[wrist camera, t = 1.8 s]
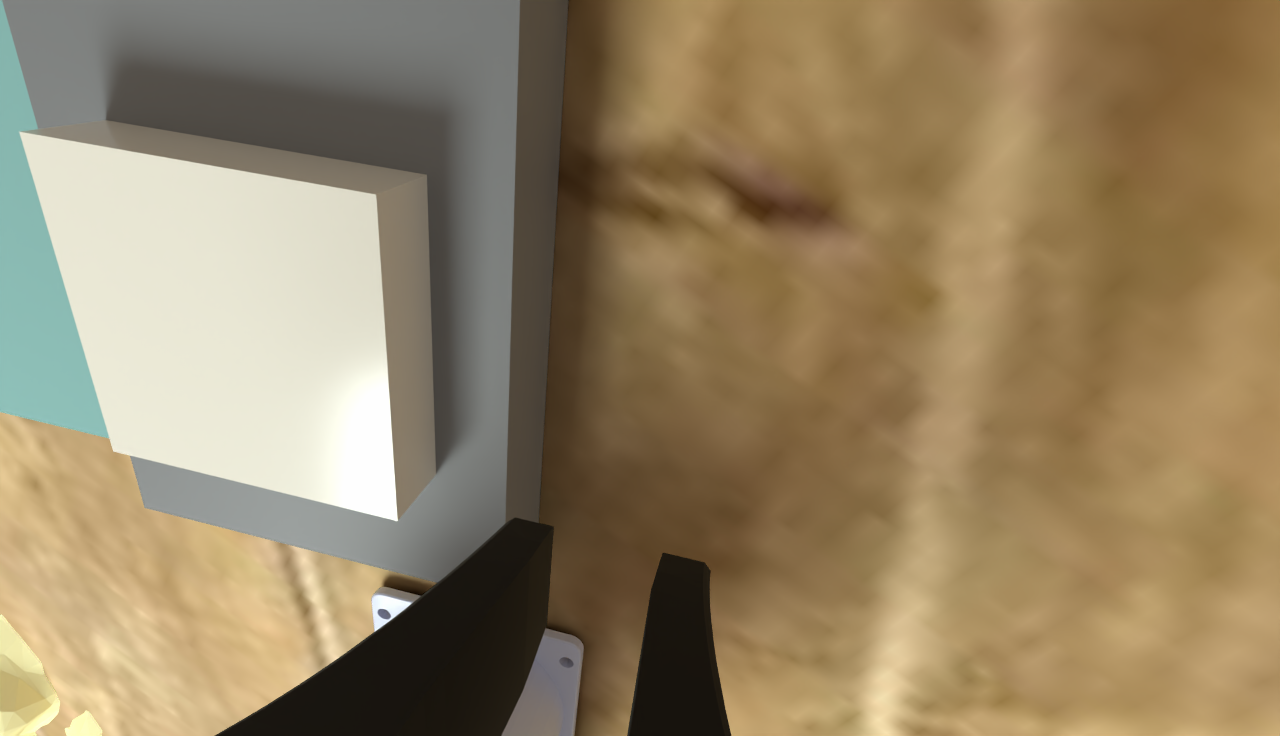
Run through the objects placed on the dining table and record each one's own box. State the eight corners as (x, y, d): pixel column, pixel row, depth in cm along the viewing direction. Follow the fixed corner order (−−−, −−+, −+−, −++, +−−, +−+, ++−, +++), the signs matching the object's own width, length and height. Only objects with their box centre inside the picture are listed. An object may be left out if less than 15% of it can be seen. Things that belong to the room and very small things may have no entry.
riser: (538, 533, 23) (503, 599, 20) (216, 456, 24) (144, 507, 22) (569, -18, 15) (520, -27, 13) (103, -77, 17) (-26, -95, 14)
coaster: (435, 474, 19) (397, 520, 17) (175, 413, 20) (113, 451, 18) (426, 174, 15) (376, 195, 13) (105, 119, 16) (19, 131, 14)
